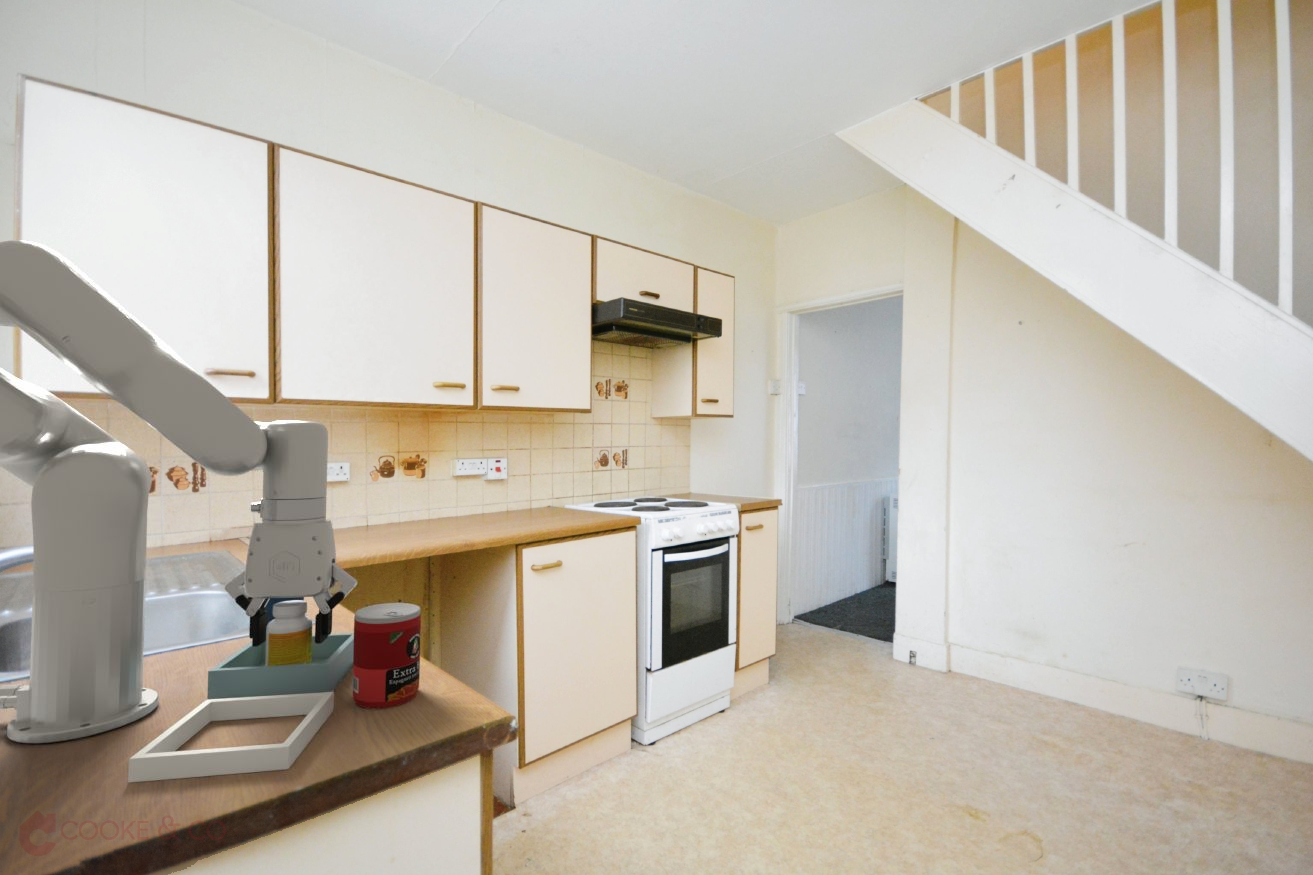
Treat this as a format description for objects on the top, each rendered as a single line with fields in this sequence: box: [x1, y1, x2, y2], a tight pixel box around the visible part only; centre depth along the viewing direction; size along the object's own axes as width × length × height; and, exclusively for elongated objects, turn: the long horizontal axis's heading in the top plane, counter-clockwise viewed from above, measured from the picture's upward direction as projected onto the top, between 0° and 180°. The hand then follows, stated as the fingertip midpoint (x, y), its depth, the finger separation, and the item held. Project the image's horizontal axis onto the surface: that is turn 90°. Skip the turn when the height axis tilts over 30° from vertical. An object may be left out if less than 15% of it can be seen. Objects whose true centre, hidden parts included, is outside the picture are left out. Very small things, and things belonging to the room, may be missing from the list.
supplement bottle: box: [265, 600, 313, 666], centre depth 82 cm, size 5×5×10 cm
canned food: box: [352, 602, 422, 710], centre depth 77 cm, size 8×8×11 cm
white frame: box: [127, 691, 335, 783], centre depth 64 cm, size 14×14×2 cm
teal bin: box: [206, 632, 354, 700], centre depth 82 cm, size 14×14×4 cm
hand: (291, 640), depth 82 cm, fingers open, 7 cm apart
